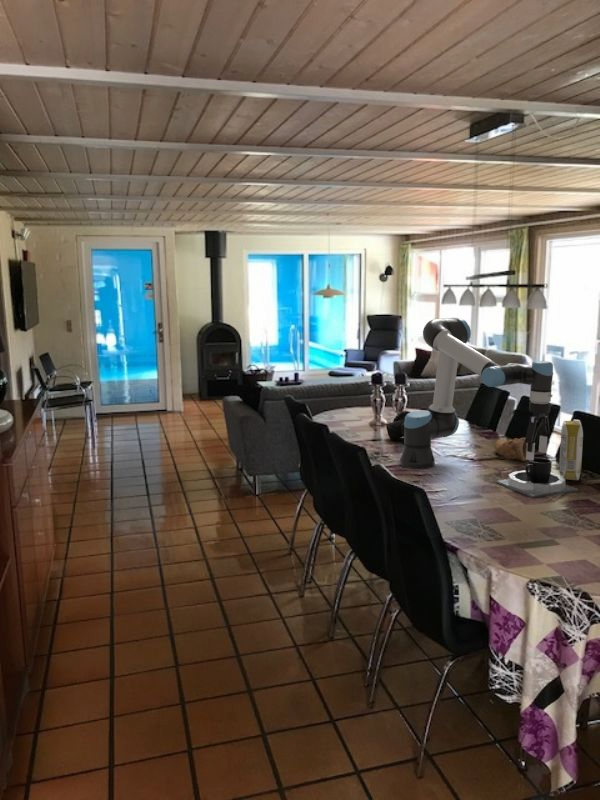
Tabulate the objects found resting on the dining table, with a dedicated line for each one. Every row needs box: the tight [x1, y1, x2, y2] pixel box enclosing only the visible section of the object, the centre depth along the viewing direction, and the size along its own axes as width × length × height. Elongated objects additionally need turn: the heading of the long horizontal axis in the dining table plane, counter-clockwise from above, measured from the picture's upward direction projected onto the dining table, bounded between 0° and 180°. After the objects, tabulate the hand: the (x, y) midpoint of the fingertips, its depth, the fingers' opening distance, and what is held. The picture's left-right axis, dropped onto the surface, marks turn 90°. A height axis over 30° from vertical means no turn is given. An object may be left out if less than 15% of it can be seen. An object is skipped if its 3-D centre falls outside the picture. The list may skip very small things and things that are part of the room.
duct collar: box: [496, 469, 579, 499], centre depth 245 cm, size 21×21×4 cm
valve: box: [385, 410, 411, 441], centre depth 322 cm, size 22×15×30 cm
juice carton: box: [559, 419, 584, 481], centre depth 255 cm, size 9×8×24 cm
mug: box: [524, 457, 553, 484], centre depth 244 cm, size 8×12×10 cm
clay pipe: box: [494, 437, 527, 462], centre depth 289 cm, size 19×11×15 cm
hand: (536, 456), depth 243 cm, fingers open, 13 cm apart
